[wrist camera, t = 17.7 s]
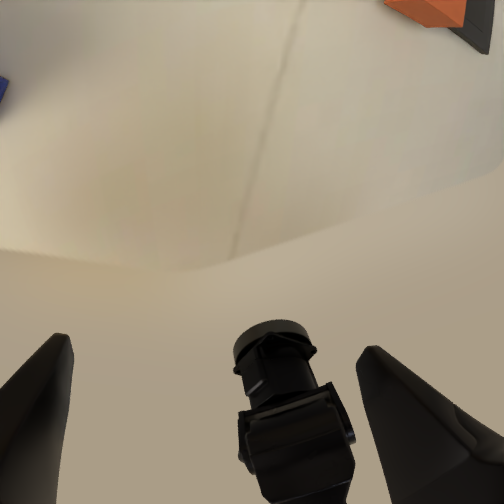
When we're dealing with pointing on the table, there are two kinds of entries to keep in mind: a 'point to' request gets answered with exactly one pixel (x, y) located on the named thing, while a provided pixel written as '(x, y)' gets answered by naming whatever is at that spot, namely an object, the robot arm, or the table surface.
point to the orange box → (432, 11)
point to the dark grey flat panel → (477, 24)
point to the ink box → (3, 86)
